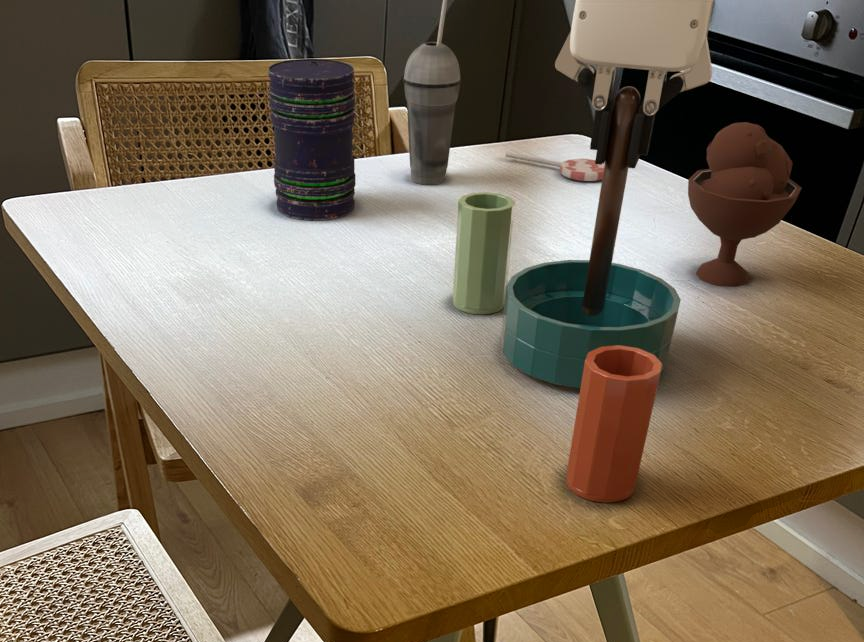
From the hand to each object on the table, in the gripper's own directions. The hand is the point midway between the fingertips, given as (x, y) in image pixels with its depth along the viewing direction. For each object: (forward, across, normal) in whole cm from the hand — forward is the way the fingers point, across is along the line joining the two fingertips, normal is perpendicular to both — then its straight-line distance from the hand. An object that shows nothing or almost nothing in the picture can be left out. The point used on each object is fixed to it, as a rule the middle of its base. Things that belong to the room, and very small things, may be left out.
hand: (617, 159), depth 81 cm
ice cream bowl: (+16, -11, -21) cm, 29 cm away
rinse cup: (+16, +12, -5) cm, 21 cm away
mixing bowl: (+16, 0, +3) cm, 16 cm away
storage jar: (+17, +38, -26) cm, 49 cm away
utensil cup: (+16, -5, +24) cm, 29 cm away
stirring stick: (+14, 0, 0) cm, 14 cm away
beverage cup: (+17, +28, -41) cm, 53 cm away
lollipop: (+16, +13, -51) cm, 55 cm away
